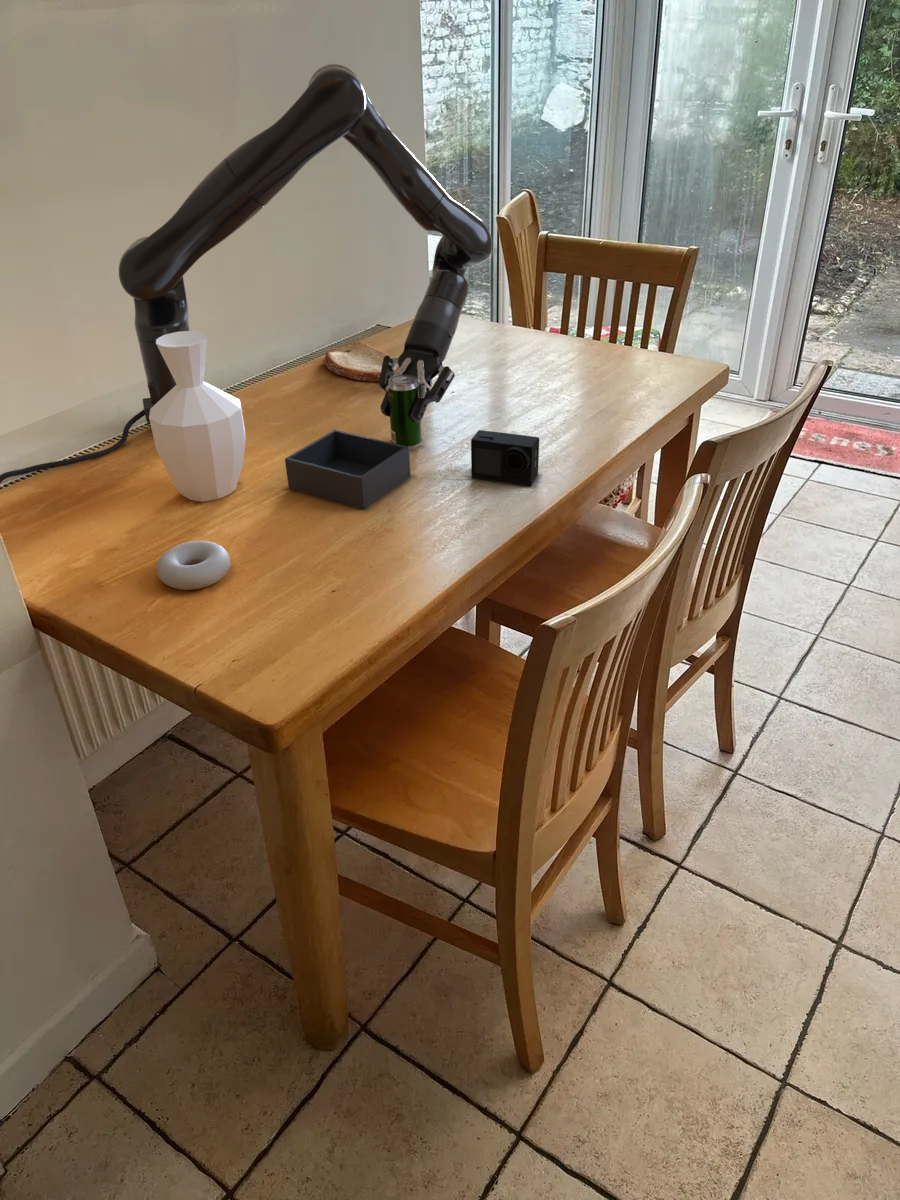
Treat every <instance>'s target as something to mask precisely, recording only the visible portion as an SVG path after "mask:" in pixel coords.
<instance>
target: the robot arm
mask: <svg viewBox="0 0 900 1200" xmlns="http://www.w3.org/2000/svg"><path fill="white" fill-rule="evenodd" d="M342 138H343V139H344V140H346V141H347V142H348V143H349V144H350V145H351V146H352V147H353V148H354V149H355V150H356V151H357V152H358V153H359V154H360V155H361V156H362V157H363V158H364V159H365V161H366V162H367V163H368V165H370V167H371V168H372V169H373V170H374V172H375V173H376V175H377V176H378V177H379V178H380V180H381V181H382V183H383V184H384V185H385V187H386V188H387V189H388V191H389V192H390V193H391V195H392V196H393V197H394V199H396V201H397V202H398V203H399V204H400V205H401V207H402V208H403V209H404V210H405V211H406V212H407V213H408V214H409V216H410V217H411V218H412V219H413V220H414V221H415V222H416V223H417V225H418V226H419V227H420V228H422V229H423V231H426V232H437V233H440V234H441V237H440V239H439V241H438V243H437V245H436V249H435V252H434V257H433V265H432V271H431V272H432V274H431V279H430V280H429V283H428V286H427V288H426V291H425V294H424V296H423V298H422V300H421V303H420V304H419V306H418V308H417V311H416V313H415V316H414V318H413V320H412V322H411V326H410V329H409V331H408V333H407V336H406V338H405V340H404V341H405V342H404V347H403V351H402V353H401V354H400V355H399V356H398V357H391V358H390V357H389V356H390V355H389V354H387V355H386V356H385V357H384V359H383V364H382V369H381V374H380V379H379V382H378V387H380V388H381V389H382V390H383V391H384V392H385V394H384V396H383V398H382V400H381V401H382V402H381V403H380V412H381V414H382V415H384V417H388V418H390V411H389V397H388V383H389V378H391V377H393V376H396V375H404V374H405V375H413V376H415V377H416V378H417V382H418V384H419V399H418V398H417V399H416V401H415V404H414V407H413V409H412V412H411V414H410V419H411V420H412V421H413V422H415V423H418V422H419V420H421V421H422V419H423V418H424V415H425V413H426V409H427V407H428V405H429V404H430V403H436V404H438V403H440V402H441V401H442V399H443V397H444V396H445V394H446V392H447V390H448V389H449V387H450V385H451V384H452V381H454V378H455V377H456V374H455V373H454V371H453V370H452V368H450V367H449V365H446V366H443V362H444V361H445V360H446V357H447V355H448V352H449V349H450V348H451V344H452V341H453V339H454V337H455V334H456V331H457V328H458V326H459V320H460V316H461V314H462V311H463V308H464V306H465V303H466V300H467V298H468V294H469V291H470V285H469V282H468V279H466V277H465V274H466V271H467V270H468V268H470V267H473V266H475V265H479V264H481V263H483V262H485V261H486V260H487V259H489V258H490V255H491V254H492V252H493V247H494V246H493V238H492V234H491V233H490V230H489V228H488V227H487V225H486V224H485V223H484V222H483V221H482V220H481V218H479V217H478V216H476V215H475V214H474V213H473V212H471V211H470V210H469V209H468V208H466V207H465V206H463V205H462V204H461V203H460V202H457V201H456V200H454V199H453V198H452V197H451V196H450V194H448V193H447V192H446V190H445V189H444V188H443V187H442V186H441V184H440V183H439V182H438V181H437V180H436V178H435V177H434V176H433V175H432V174H431V173H430V172H429V170H427V168H426V167H425V166H424V165H423V164H422V163H421V162H420V161H419V160H418V159H417V158H416V157H415V155H414V154H413V153H412V152H411V151H410V150H409V149H408V148H407V147H406V145H404V143H402V141H401V140H400V139H399V138H398V136H396V135H395V134H394V132H393V131H392V130H391V129H390V127H389V126H388V125H387V123H385V121H384V119H382V117H381V116H380V114H379V113H378V111H377V110H376V108H375V106H374V105H373V103H372V102H371V100H370V99H369V97H368V95H367V94H366V92H365V90H364V87H363V85H362V82H361V80H360V79H359V77H358V75H356V73H354V71H352V70H351V69H350V68H349V67H347V66H345V65H342V64H339V63H328V64H324V65H322V66H320V67H319V68H317V69H316V70H315V71H314V72H313V73H312V74H311V77H310V78H309V81H308V84H307V87H306V88H305V90H304V91H303V92H302V94H301V95H300V96H299V98H298V99H297V100H296V101H295V102H294V103H293V104H292V105H291V106H290V107H289V109H287V110H286V112H285V113H284V114H283V115H281V117H280V118H278V120H276V121H275V122H274V123H273V124H272V125H270V126H269V127H268V128H266V129H264V130H263V131H261V132H259V133H258V134H256V135H254V136H252V137H251V138H250V139H248V140H247V141H245V142H244V143H242V144H241V145H239V146H238V147H237V148H236V149H235V148H234V150H233V151H231V152H230V153H228V154H227V156H225V158H224V159H222V160H221V161H220V162H219V163H218V164H217V165H216V166H215V167H214V168H212V170H210V172H209V173H208V174H207V175H206V176H205V177H203V179H201V181H200V182H199V183H198V185H197V186H196V187H195V188H193V190H192V191H191V193H189V195H187V198H186V199H185V200H184V201H183V202H182V204H181V205H180V207H179V208H178V209H177V211H176V212H175V213H174V214H173V215H172V216H171V217H170V218H169V219H168V220H167V221H166V222H165V223H164V224H163V225H162V226H160V227H159V228H158V229H156V230H155V231H154V232H153V233H151V234H149V236H143V237H140V238H138V239H136V240H135V241H133V242H132V243H131V244H130V245H129V247H127V248H126V250H125V251H124V252H123V253H122V255H121V257H120V260H119V264H118V279H119V282H120V285H121V287H122V289H123V290H124V291H125V292H126V293H127V294H128V295H129V296H130V297H131V298H133V303H134V329H135V332H136V337H137V341H138V346H139V350H140V354H141V359H142V362H143V363H142V364H143V369H144V373H145V378H146V383H147V388H148V392H149V397H145V398H142V399H141V400H142V406H143V409H142V410H141V411H140V412H138V413H136V414H135V415H134V416H133V417H131V418H130V419H129V420H128V421H127V422H126V424H125V425H124V427H123V431H122V435H121V438H120V439H119V440H118V441H117V442H116V443H115V444H113V445H112V446H110V447H107V448H105V449H103V450H102V449H101V450H97V451H94V452H90V453H86V454H82V455H79V456H74V457H71V458H66V459H61V460H55V461H49V462H44V463H39V464H35V465H32V466H27V467H24V468H19V469H14V470H9V471H6V472H3V473H1V474H0V484H1V483H3V481H4V480H7V479H9V478H12V477H16V476H22V475H27V474H30V473H33V472H37V471H41V470H42V471H43V470H47V469H52V468H58V467H64V466H69V465H73V464H77V463H81V462H84V461H88V460H91V459H95V458H96V459H97V458H100V457H102V456H106V455H107V454H110V453H112V452H114V451H116V450H118V449H120V448H121V447H122V446H123V445H124V444H125V443H126V442H127V440H128V437H129V431H130V429H131V428H132V426H133V425H135V423H136V422H138V421H140V419H142V418H143V417H145V420H146V424H147V426H148V425H151V424H150V420H149V415H150V409H151V408H152V407H153V406H154V405H155V404H156V403H157V402H158V401H159V400H160V399H162V398H163V397H164V396H165V395H166V394H167V393H168V392H169V391H170V390H171V389H172V388H173V387H175V386H176V385H177V384H176V382H175V380H174V378H173V376H172V374H171V372H170V370H169V368H168V366H167V364H166V362H165V360H164V358H163V356H162V354H161V352H160V350H159V349H158V347H157V345H156V339H158V338H159V337H161V336H163V335H166V334H170V333H174V332H182V331H191V328H190V322H189V321H190V320H189V304H188V299H187V294H186V287H185V279H184V275H185V274H186V273H187V272H188V271H189V270H190V269H191V268H192V267H193V266H194V265H195V264H196V263H197V262H198V260H200V259H201V258H202V257H203V256H204V255H205V254H207V253H208V252H209V251H210V250H212V249H213V248H215V247H216V246H218V245H219V244H221V243H222V242H224V241H225V240H226V239H227V238H229V237H230V236H231V235H233V234H234V233H235V232H237V231H238V230H239V229H240V228H242V227H243V226H244V225H245V224H247V223H248V222H249V221H250V220H251V219H253V218H254V217H255V216H256V215H257V214H258V213H259V212H261V210H263V209H264V208H265V207H266V206H267V205H269V203H271V201H272V200H273V199H274V198H275V197H276V196H278V194H279V193H280V192H281V191H282V190H283V189H284V188H285V187H286V186H287V185H288V184H289V183H290V182H291V181H292V180H293V178H294V177H296V175H297V174H298V173H299V172H300V171H301V170H302V169H303V167H304V166H306V164H308V163H309V162H310V161H311V160H312V159H314V158H315V157H316V156H317V155H319V154H320V153H321V152H322V151H324V150H326V149H327V148H328V147H329V146H331V145H332V144H334V143H335V142H336V141H338V140H340V139H342ZM388 355H389V356H388ZM398 365H399V369H398V370H397V369H396V368H397V366H398ZM396 370H397V372H396V373H395V374H394V371H396ZM436 377H437V378H436ZM434 378H436V380H435V382H434V384H433V379H434Z"/></svg>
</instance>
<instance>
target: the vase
mask: <svg viewBox="0 0 900 1200" xmlns="http://www.w3.org/2000/svg"><path fill="white" fill-rule="evenodd" d="M156 345H157V347H158V349H159V350H160V352H161V354H162V356H163V358H164V360H165V362H166V364H167V366H168V368H169V370H170V372H171V374H172V376H173V378H174V380H175V382H176V384H177V385H176V386H175V387H173V388H172V389H171V390H170V391H169V392H168V393H167V394H166V395H165V396H164V397H163V398H162V399H160V400H159V401H158V402H157V403H156V404H155V405H154V406H153V407H152V408H151V409H150V415H149V420H150V424H149V425H150V427H151V433H152V437H153V441H154V442H153V443H154V446H155V450H156V452H157V454H158V456H159V458H160V460H161V462H162V464H163V466H164V468H165V470H166V472H167V473H168V475H169V477H170V479H171V481H172V484H173V485H174V487H175V490H176V492H177V493H179V494H181V495H182V496H183V497H184V498H186V499H188V500H190V501H195V502H202V503H203V502H204V503H205V502H208V501H209V502H211V501H215V500H220V499H223V498H224V497H227V496H229V495H231V494H232V493H233V492H235V490H236V489H237V487H238V484H239V480H240V476H241V474H242V471H243V466H244V460H245V450H246V442H247V441H246V439H247V438H246V427H245V422H244V416H243V415H244V414H243V409H242V404H241V399H240V398H237V397H236V396H233V395H231V394H230V393H228V392H226V391H224V390H222V389H220V388H218V387H216V386H214V385H212V384H210V383H208V382H206V381H204V380H205V369H206V358H207V347H208V333H205V332H202V331H196V330H190V331H182V332H174V333H170V334H166V335H163V336H161V337H159V338H158V339H156Z"/></svg>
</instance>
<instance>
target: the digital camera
mask: <svg viewBox="0 0 900 1200" xmlns="http://www.w3.org/2000/svg"><path fill="white" fill-rule="evenodd" d="M539 456H540V437H539V436H533V435H532V436H531V435H524V434H517V433H516V434H515V433H507V432H499V431H490V430H483V429H482V430H481V429H479V430H477V432H475V434H474V435H473V436H472V438H471V439H470V462H471V463H470V464H471V465H470V467H471V478H472V479H476V480H483V481H490V482H498V483H504V484H511V485H520V486H528V487H532V486H533V484H534V483H535V481H536V479H537V477H539V461H540V460H539V459H540V458H539Z"/></svg>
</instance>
